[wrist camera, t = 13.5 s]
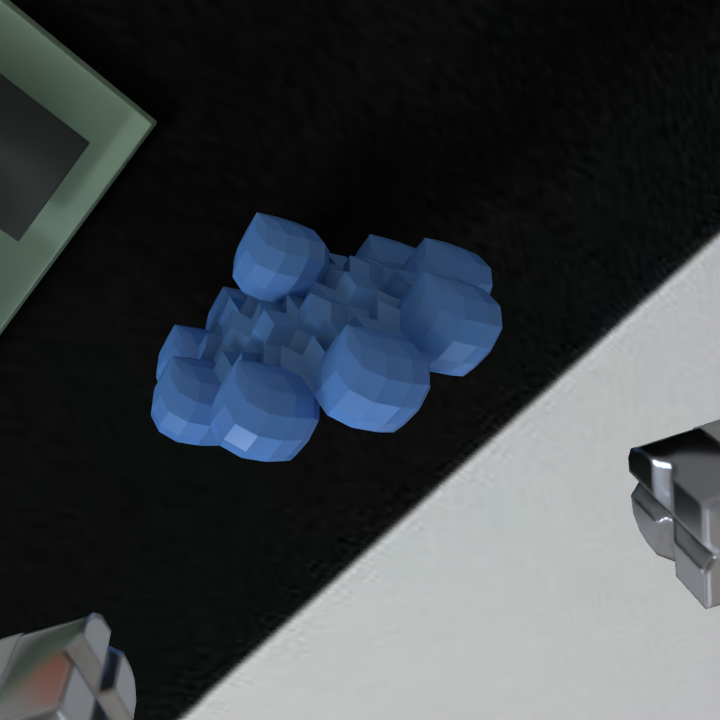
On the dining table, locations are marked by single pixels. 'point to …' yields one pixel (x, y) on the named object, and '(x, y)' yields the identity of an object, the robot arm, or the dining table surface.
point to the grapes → (322, 340)
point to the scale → (91, 171)
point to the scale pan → (31, 157)
